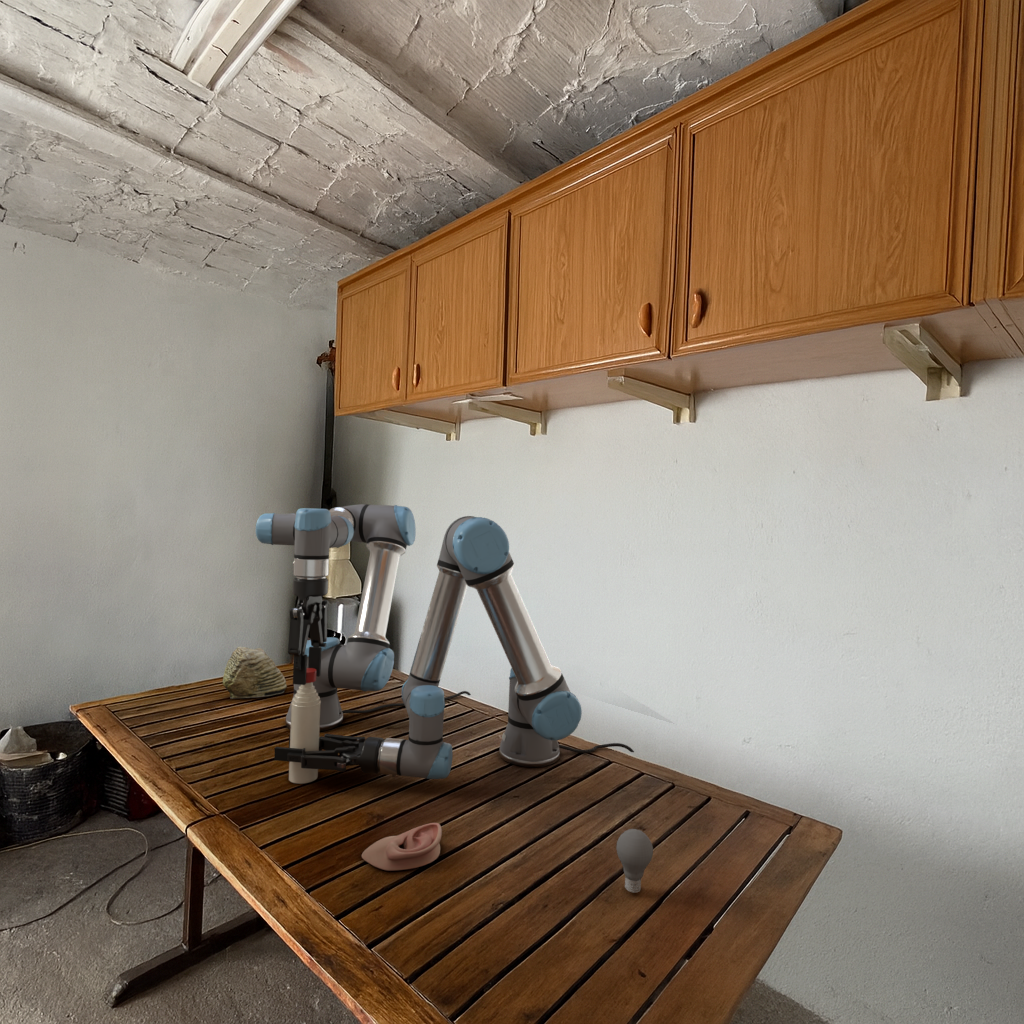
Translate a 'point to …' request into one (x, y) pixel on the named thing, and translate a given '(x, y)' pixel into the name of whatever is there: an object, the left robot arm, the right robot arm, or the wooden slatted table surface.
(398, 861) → the anatomical model
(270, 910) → the wooden slatted table surface
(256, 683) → the fossil
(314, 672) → the cap
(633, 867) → the light bulb
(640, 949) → the wooden slatted table surface
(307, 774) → the bottle
